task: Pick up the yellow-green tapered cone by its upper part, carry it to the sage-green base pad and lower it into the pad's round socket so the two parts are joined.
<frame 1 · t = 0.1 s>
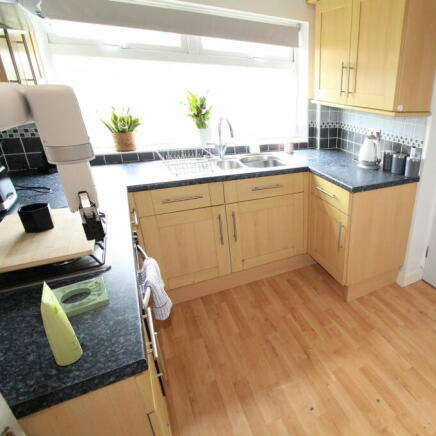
hand: (94, 230, 70), 30 cm above the worktop, tool pointing down, fingers open, 9 cm apart
yellow-green tapered cone: (70, 358, 74), on the worktop
base pad: (79, 303, 92), on the worktop
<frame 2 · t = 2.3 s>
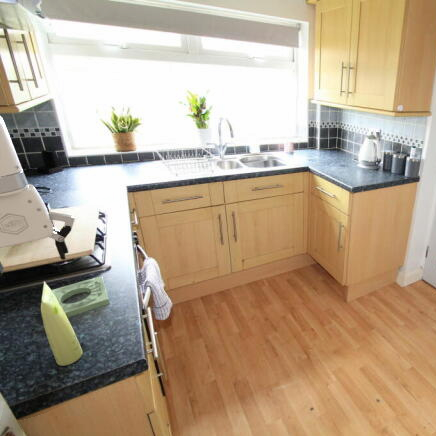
hand: (33, 264, 64), 26 cm above the worktop, tool pointing down, fingers open, 9 cm apart
nothing on the worktop moved.
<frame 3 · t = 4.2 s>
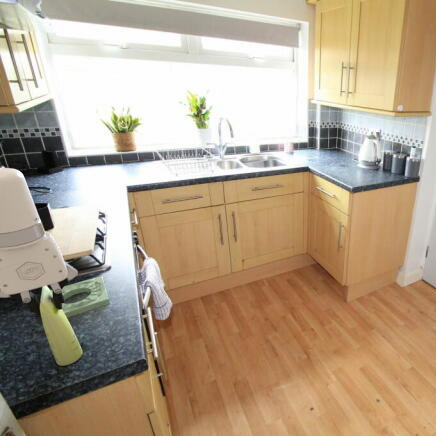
hand: (49, 308, 68), 15 cm above the worktop, tool pointing down, fingers closed on yellow-green tapered cone, 2 cm apart
yellow-green tapered cone: (70, 358, 74), on the worktop, touching gripper
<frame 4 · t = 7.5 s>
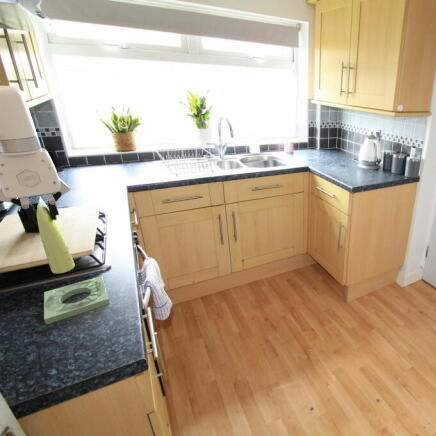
hand: (45, 219, 79), 28 cm above the worktop, tool pointing down, fingers closed on yellow-green tapered cone, 2 cm apart
yellow-green tapered cone: (63, 269, 85), point 13 cm above the worktop, touching gripper
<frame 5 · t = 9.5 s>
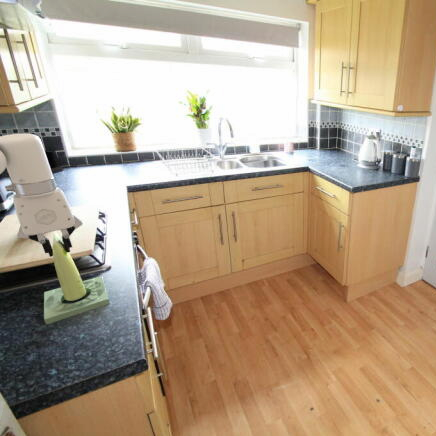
hand: (59, 251, 84), 17 cm above the worktop, tool pointing down, fingers closed on yellow-green tapered cone, 2 cm apart
yellow-green tapered cone: (76, 296, 91), point 3 cm above the worktop, touching gripper
when the fingers open (15 cm above the worktop, at t = 10.6 s): yellow-green tapered cone stays where it is, resting in base pad.
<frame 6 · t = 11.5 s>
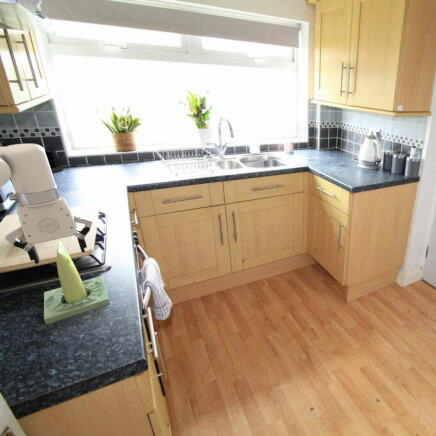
hand: (61, 255, 85), 16 cm above the worktop, tool pointing down, fingers open, 9 cm apart
yellow-green tapered cone: (78, 304, 92), resting in base pad
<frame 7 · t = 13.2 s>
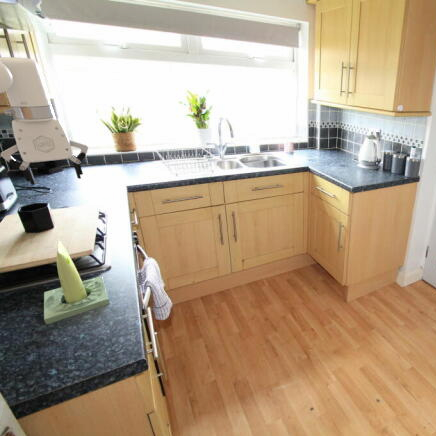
hand: (57, 180, 85), 34 cm above the worktop, tool pointing down, fingers open, 9 cm apart
nothing on the worktop moved.
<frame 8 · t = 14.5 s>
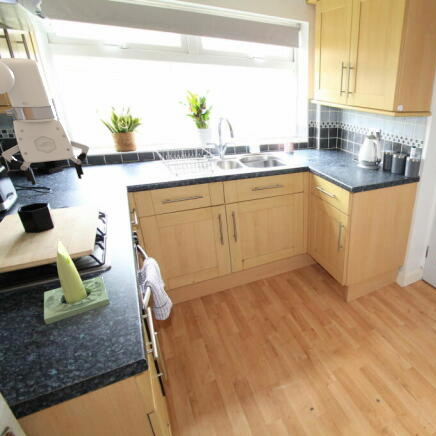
hand: (57, 180, 85), 34 cm above the worktop, tool pointing down, fingers open, 9 cm apart
nothing on the worktop moved.
at the end: yellow-green tapered cone 0.1 cm off-centre in the base pad, point 0.0 cm above the base pad's base; yellow-green tapered cone tilted 0°; the gripper is holding nothing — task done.
